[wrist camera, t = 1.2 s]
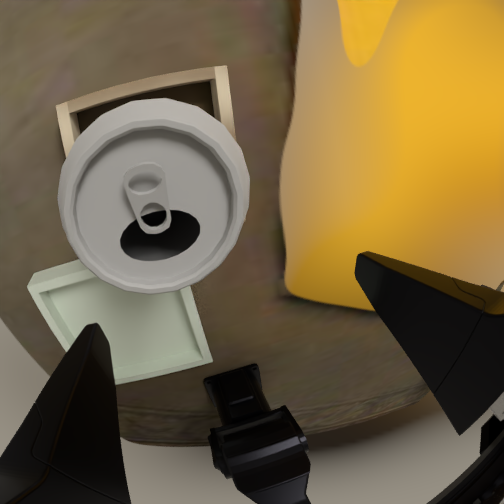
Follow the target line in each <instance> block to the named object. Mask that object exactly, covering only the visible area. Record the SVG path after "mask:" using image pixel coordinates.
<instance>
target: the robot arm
mask: <svg viewBox="0 0 504 504" xmlns="http://www.w3.org/2000/svg"><path fill="white" fill-rule="evenodd" d="M355 277H356V280H357V281H358V283H359V284H360V286H361V288H362V290H363V291H364V293H365V294H366V296H367V298H368V299H369V301H370V303H371V305H372V306H373V308H374V309H375V311H376V312H377V314H378V315H379V316H380V318H381V319H382V320H383V322H384V323H385V325H386V326H387V327H388V329H389V330H390V331H391V333H392V334H393V336H394V337H395V338H396V340H397V341H398V343H399V344H400V346H401V347H402V348H403V350H404V351H405V353H406V354H407V356H408V357H409V358H410V360H411V361H412V363H413V364H414V366H415V367H416V369H417V370H418V372H419V373H420V375H421V376H422V378H423V379H424V381H425V382H426V384H427V385H428V387H429V388H430V390H431V391H432V393H433V394H434V396H435V398H436V399H437V401H438V402H439V404H440V406H441V407H442V409H443V410H444V412H445V414H446V415H447V417H448V419H449V420H450V422H451V424H452V425H453V427H454V428H455V430H456V432H457V433H458V435H459V436H460V435H461V434H462V433H464V432H465V431H466V430H467V429H468V428H469V427H470V426H471V425H472V424H473V423H474V422H475V421H476V420H478V418H480V416H482V415H483V413H485V412H486V410H488V408H489V409H490V410H491V411H492V412H493V415H492V416H491V417H490V418H489V420H488V421H487V422H486V423H485V424H484V425H483V426H482V427H481V442H480V457H479V458H478V459H477V460H476V461H475V462H474V463H473V464H472V465H471V466H470V467H469V468H468V469H467V470H465V471H464V472H463V473H462V474H461V475H460V476H459V477H458V478H457V479H456V480H455V481H454V482H452V483H451V484H450V485H449V486H448V487H447V488H445V489H444V490H443V491H442V492H441V493H439V494H438V495H437V496H436V497H435V498H433V499H432V500H431V501H429V502H428V503H427V504H504V292H501V291H497V290H494V289H490V288H486V287H482V286H479V285H475V284H472V283H468V282H465V281H462V280H459V279H456V278H453V277H452V278H451V277H450V276H447V275H444V274H440V273H437V272H434V271H431V270H428V269H425V268H422V267H418V266H415V265H412V264H409V263H405V262H402V261H399V260H396V259H393V258H389V257H386V256H383V255H379V254H376V253H372V252H369V251H366V252H363V253H360V254H358V256H357V259H356V267H355ZM204 383H205V386H206V388H207V391H208V393H209V395H210V397H211V400H212V402H213V404H214V406H215V407H217V409H218V412H219V416H220V419H221V422H222V425H223V426H222V427H218V428H211V429H210V432H211V434H210V435H209V436H208V440H209V443H210V446H211V451H212V457H213V464H214V467H215V468H216V469H218V470H220V471H221V472H222V474H224V475H225V477H226V479H229V478H233V481H234V484H235V486H236V488H237V490H239V491H240V492H241V493H243V494H244V495H246V496H247V497H248V498H250V499H251V500H252V501H254V502H255V503H257V504H311V503H310V501H309V499H308V497H307V495H306V489H307V484H308V478H309V473H310V465H311V464H310V461H309V459H308V456H307V454H306V452H308V451H309V448H308V444H307V441H306V438H305V436H304V434H303V432H302V430H301V428H300V427H299V425H298V424H297V422H296V421H295V419H294V418H293V416H292V415H291V413H290V412H289V410H288V408H287V407H286V405H284V406H281V407H280V408H278V409H275V410H272V411H271V409H270V406H269V404H268V402H267V400H266V398H265V396H264V394H263V391H262V385H261V379H260V372H259V367H258V365H257V364H251V365H248V366H245V367H242V368H239V369H235V370H232V371H229V372H225V373H222V374H218V375H215V376H211V377H208V378H205V379H204ZM0 504H131V500H130V495H129V491H128V486H127V480H126V474H125V469H124V463H123V456H122V449H121V440H120V432H119V422H118V411H117V396H116V385H115V379H114V372H113V365H112V358H111V350H110V344H109V341H108V339H107V337H106V336H105V334H104V332H103V330H102V328H101V327H100V325H99V324H98V323H92V324H87V325H86V326H85V327H84V328H83V330H82V331H81V332H80V334H79V335H78V337H77V338H76V340H75V341H74V342H73V344H72V345H71V347H70V348H69V350H68V351H67V353H66V354H65V355H64V357H63V358H62V360H61V361H60V363H59V364H58V366H57V368H56V369H55V371H54V372H53V374H52V375H51V377H50V378H49V380H48V381H47V383H46V385H45V386H44V388H43V389H42V391H41V393H40V394H39V396H38V398H37V399H36V401H35V403H34V404H33V406H32V408H31V409H30V411H29V413H28V415H27V416H26V418H25V419H24V421H23V423H22V424H21V426H20V427H19V429H18V431H17V432H16V434H15V435H14V437H13V438H12V440H11V441H10V443H9V445H8V446H7V447H6V449H5V451H4V452H3V454H2V455H1V457H0Z"/></svg>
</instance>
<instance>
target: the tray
mask: <svg viewBox="0 0 504 504" xmlns="http://www.w3.org/2000/svg"><path fill="white" fill-rule="evenodd" d="M27 288H28V290H29V292H30V294H31V295H32V297H33V299H34V301H35V303H36V305H37V306H38V308H39V310H40V312H41V313H42V315H43V317H44V318H45V320H46V322H47V323H48V325H49V326H50V328H51V330H52V331H53V333H54V334H55V336H56V337H57V339H58V340H59V342H60V343H61V345H62V346H63V348H64V349H65V351H66V352H67V351H68V350H69V348H70V347H71V345H72V344H73V342H74V341H75V340H76V338H77V337H78V335H79V334H80V332H81V331H82V330H83V328H84V327H85V326H86V325H87V324H92V323H98V324H99V325H100V327H101V328H102V330H103V332H104V334H105V336H106V337H107V339H108V341H109V344H110V350H111V358H112V365H113V372H114V379H115V385H117V384H122V383H127V382H132V381H137V380H142V379H146V378H151V377H155V376H160V375H164V374H168V373H172V372H176V371H180V370H184V369H188V368H192V367H196V366H200V365H203V364H207V363H211V362H213V360H212V357H211V354H210V350H209V347H208V344H207V341H206V338H205V334H204V331H203V328H202V325H201V321H200V318H199V315H198V311H197V308H196V305H195V301H194V298H193V294H192V291H191V287H190V286H187V287H185V288H183V289H180V290H178V291H175V292H168V293H160V294H152V295H148V294H141V293H134V292H128V291H123V290H121V289H119V288H117V287H114V286H112V285H110V284H108V283H106V282H104V281H102V280H100V279H99V278H98V277H97V276H95V275H94V274H93V273H92V272H91V271H90V270H89V269H88V268H87V267H85V266H84V265H83V264H82V263H81V262H80V260H75V261H72V262H69V263H65V264H62V265H59V266H55V267H52V268H49V269H46V270H42V271H39V272H36V273H34V275H33V276H32V278H31V280H30V282H29V284H28V286H27Z"/></svg>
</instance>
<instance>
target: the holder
mask: <svg viewBox="0 0 504 504" xmlns="http://www.w3.org/2000/svg"><path fill="white" fill-rule="evenodd" d="M209 81H210V86H211V94H212V102H213V109H214V117H215V119H216V120H218V121H219V122H221V123H222V124H223V125H224V126H225V127H226V129H227V130H228V131H229V133H230V134H231V136H232V137H233V138H234V140H235V141H236V137H235V129H234V121H233V113H232V105H231V97H230V88H229V80H228V72H227V65H226V66H217V67H208V68H200V69H193V70H187V71H181V72H175V73H169V74H164V75H159V76H154V77H150V78H145V79H141V80H137V81H132V82H128V83H125V84H121V85H117V86H114V87H110V88H107V89H103V90H100V91H97V92H94V93H91V94H88V95H85V96H82V97H79V98H76V99H73V100H71V101H68V102H65V103H63V104H60V105H57V106H56V109H57V115H58V121H59V126H60V131H61V136H62V141H63V146H64V150H65V155H66V158H67V156H68V154H69V152H70V150H71V148H72V146H73V144H74V143H75V141H76V139H77V138H78V137H79V136H80V135H81V134H80V128H79V123H78V118H77V113H78V112H81V111H84V110H87V109H90V108H93V107H96V106H100V105H103V104H106V103H109V102H113V101H116V100H120V99H124V98H127V97H131V96H135V95H139V94H144V93H148V92H152V91H157V90H162V89H167V88H172V87H177V86H183V85H189V84H195V83H201V82H209ZM245 221H246V218H245V219H244V222H245Z"/></svg>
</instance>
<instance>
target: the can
mask: <svg viewBox="0 0 504 504" xmlns="http://www.w3.org/2000/svg"><path fill="white" fill-rule="evenodd" d="M249 185H250V177H249V174H248V170H247V167H246V163H245V160H244V157H243V153H242V150H241V148H240V147H239V145H238V144H237V143H236V141H235V140H234V138H233V137H232V136H231V134H230V133H229V131H228V130H227V129H226V127H225V126H224V125H223V124H222V123H221V122H219V121H218V120H216V119H215V118H214V117H212V116H211V115H209V114H208V113H206V112H205V111H203V110H202V109H201V108H199V107H197V106H194V105H190V104H187V103H183V102H179V101H175V100H172V99H168V98H159V99H147V100H136V101H131V102H128V103H126V104H124V105H122V106H119V107H117V108H115V109H113V110H111V111H109V112H106V113H104V114H102V115H101V116H100V117H98V118H97V119H96V120H95V121H94V122H93V123H92V124H91V125H90V126H89V127H88V128H87V129H86V130H85V131H84V132H83V133H82V134H81V135H80V136H79V137H78V138H77V139H76V141H75V143H74V144H73V146H72V148H71V150H70V152H69V154H68V156H67V158H66V160H65V162H64V164H63V166H62V170H61V176H60V183H59V190H58V198H57V199H58V205H59V210H60V215H61V221H62V225H63V229H64V231H65V232H66V235H67V239H68V241H69V243H70V244H71V246H72V248H73V250H74V251H75V253H76V255H77V257H78V258H79V260H80V262H81V263H82V264H83V265H84V266H85V267H87V268H88V269H89V270H90V271H91V272H92V273H93V274H94V275H95V276H97V277H98V278H99V279H100V280H102V281H104V282H106V283H108V284H110V285H112V286H114V287H117V288H119V289H121V290H123V291H128V292H134V293H141V294H148V295H152V294H160V293H168V292H175V291H178V290H180V289H183V288H185V287H187V286H190V285H192V284H195V283H197V282H199V281H201V280H202V279H203V278H205V277H206V276H207V275H208V274H210V273H211V272H212V271H213V270H215V269H216V268H217V267H219V266H220V265H221V263H222V262H223V261H224V259H225V258H226V257H227V255H228V254H229V252H230V251H231V250H232V248H233V247H234V246H235V244H236V242H237V239H238V236H239V233H240V230H241V227H242V225H243V222H244V219H245V216H246V213H247V210H248V207H249Z"/></svg>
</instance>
